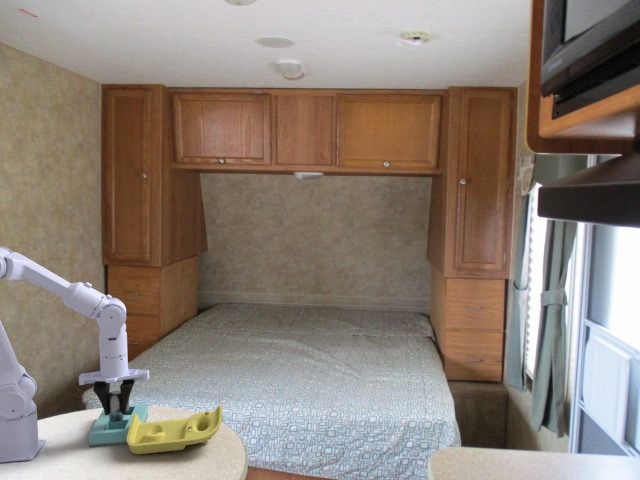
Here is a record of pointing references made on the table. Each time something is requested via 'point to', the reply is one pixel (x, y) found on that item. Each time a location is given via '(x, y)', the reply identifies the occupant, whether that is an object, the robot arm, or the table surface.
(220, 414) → the plastic component
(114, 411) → the peg
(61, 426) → the table surface
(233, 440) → the table surface
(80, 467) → the table surface
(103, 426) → the housing
